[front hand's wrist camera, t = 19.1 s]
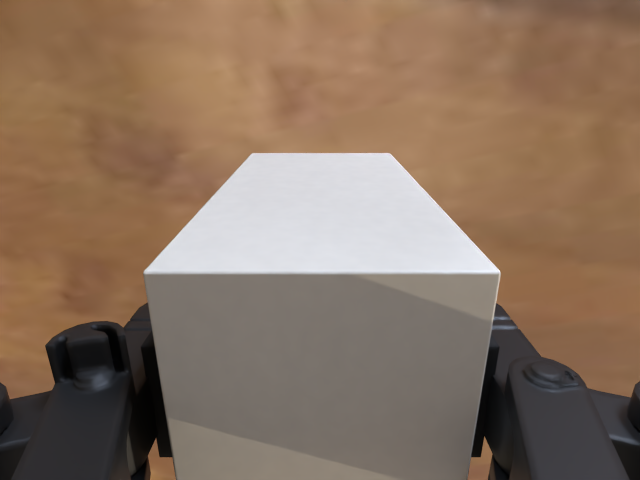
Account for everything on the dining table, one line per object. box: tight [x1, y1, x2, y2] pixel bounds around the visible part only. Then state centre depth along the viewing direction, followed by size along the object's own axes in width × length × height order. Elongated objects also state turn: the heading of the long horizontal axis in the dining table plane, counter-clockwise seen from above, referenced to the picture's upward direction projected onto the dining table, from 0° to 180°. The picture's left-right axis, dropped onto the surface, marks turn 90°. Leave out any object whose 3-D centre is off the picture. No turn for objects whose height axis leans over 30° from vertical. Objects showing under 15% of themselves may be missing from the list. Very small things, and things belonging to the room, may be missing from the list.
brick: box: [143, 153, 501, 480], centre depth 12 cm, size 7×5×10 cm
